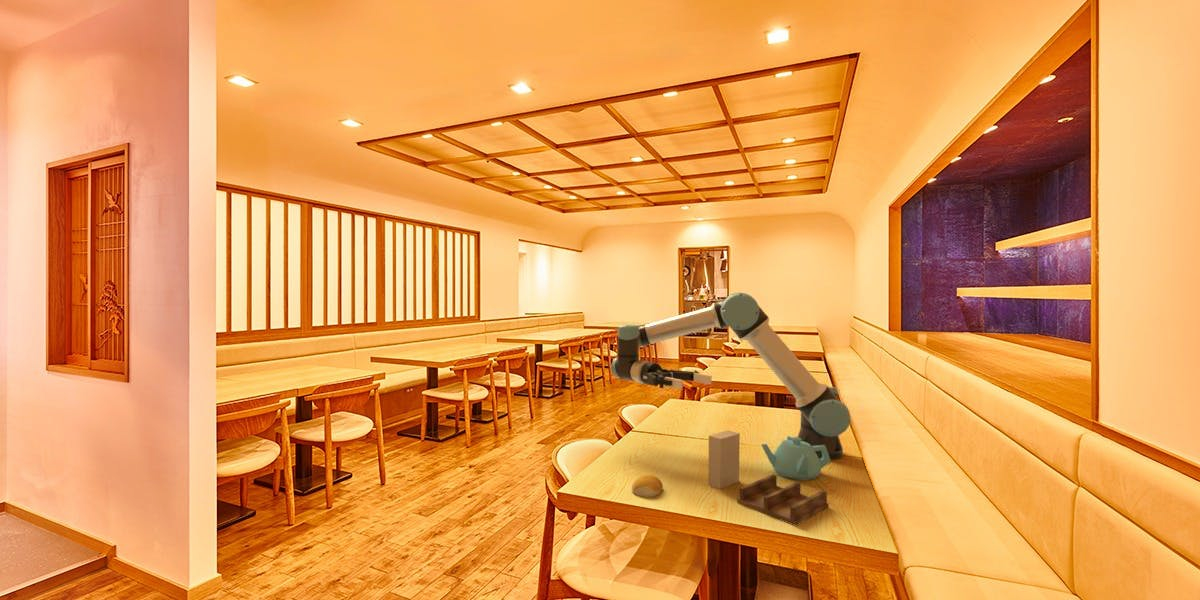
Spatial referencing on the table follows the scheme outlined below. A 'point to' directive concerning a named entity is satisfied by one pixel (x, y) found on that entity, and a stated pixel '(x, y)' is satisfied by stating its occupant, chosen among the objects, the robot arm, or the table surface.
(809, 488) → the table surface
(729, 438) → the cardboard box
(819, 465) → the teapot
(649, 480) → the bread roll
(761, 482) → the walnut rack
